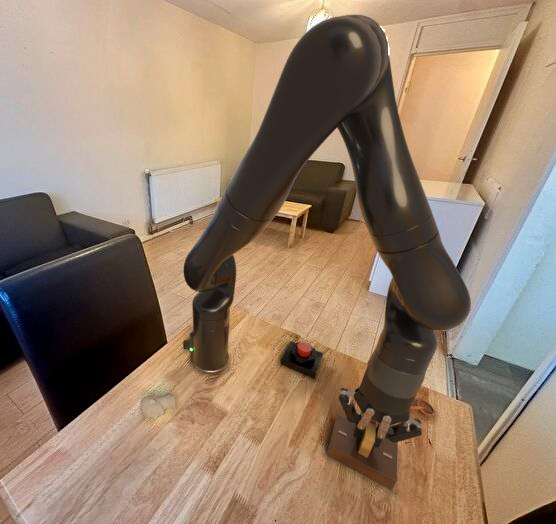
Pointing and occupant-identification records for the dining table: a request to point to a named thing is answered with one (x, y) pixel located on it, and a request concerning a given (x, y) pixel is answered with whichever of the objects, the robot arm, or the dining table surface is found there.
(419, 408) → the key
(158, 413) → the pale grey lumpy piece
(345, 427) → the lock plate
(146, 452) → the dining table surface
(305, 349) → the alarm button
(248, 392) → the dining table surface
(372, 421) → the lock knob
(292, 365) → the alarm box
